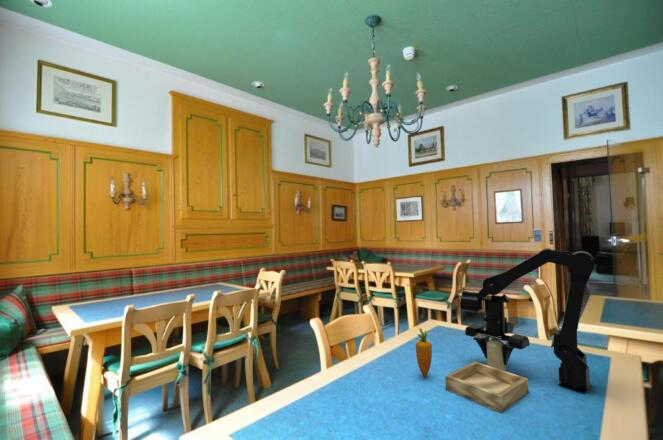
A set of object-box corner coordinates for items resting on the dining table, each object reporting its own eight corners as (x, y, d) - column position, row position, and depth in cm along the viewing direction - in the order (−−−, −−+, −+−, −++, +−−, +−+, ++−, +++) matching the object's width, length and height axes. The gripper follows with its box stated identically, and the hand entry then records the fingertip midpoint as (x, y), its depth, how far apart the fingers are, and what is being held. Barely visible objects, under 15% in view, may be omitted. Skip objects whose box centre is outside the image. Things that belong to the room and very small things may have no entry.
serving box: (528, 392, 94) (528, 378, 94) (501, 413, 84) (500, 397, 84) (475, 373, 106) (474, 361, 106) (445, 389, 97) (445, 375, 97)
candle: (509, 373, 106) (508, 341, 106) (492, 373, 106) (491, 342, 106) (501, 366, 111) (499, 336, 112) (484, 366, 112) (483, 336, 112)
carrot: (433, 381, 102) (431, 332, 103) (417, 380, 103) (415, 331, 104) (432, 374, 107) (430, 327, 107) (416, 373, 108) (414, 326, 108)
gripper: (535, 315, 107) (538, 364, 106) (480, 305, 122) (481, 348, 121) (520, 322, 100) (522, 374, 100) (463, 310, 115) (465, 356, 114)
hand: (496, 362), depth 109 cm, fingers closed on candle, 5 cm apart
